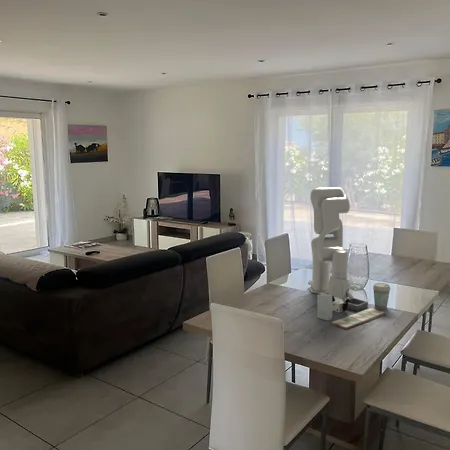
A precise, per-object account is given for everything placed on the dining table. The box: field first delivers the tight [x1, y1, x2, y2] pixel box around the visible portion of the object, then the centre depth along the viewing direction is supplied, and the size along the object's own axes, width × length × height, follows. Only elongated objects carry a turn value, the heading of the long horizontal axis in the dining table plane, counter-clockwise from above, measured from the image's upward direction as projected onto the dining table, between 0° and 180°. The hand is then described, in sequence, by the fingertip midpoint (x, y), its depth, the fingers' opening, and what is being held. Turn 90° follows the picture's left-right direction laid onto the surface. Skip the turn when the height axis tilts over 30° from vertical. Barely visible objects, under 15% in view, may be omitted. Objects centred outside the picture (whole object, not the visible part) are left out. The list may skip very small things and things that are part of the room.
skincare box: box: [316, 293, 333, 321], centre depth 219 cm, size 6×4×12 cm
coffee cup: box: [372, 282, 391, 310], centre depth 233 cm, size 9×9×12 cm
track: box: [330, 307, 386, 331], centre depth 219 cm, size 9×30×1 cm, turn 127°
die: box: [332, 299, 344, 313], centre depth 231 cm, size 5×5×5 cm
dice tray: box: [348, 297, 369, 313], centre depth 235 cm, size 9×9×3 cm
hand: (338, 308), depth 231 cm, fingers open, 7 cm apart
